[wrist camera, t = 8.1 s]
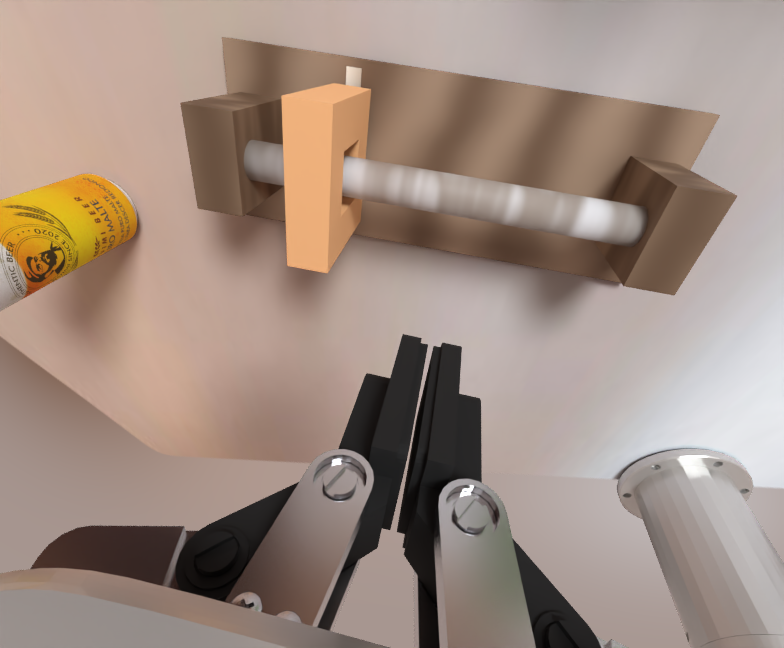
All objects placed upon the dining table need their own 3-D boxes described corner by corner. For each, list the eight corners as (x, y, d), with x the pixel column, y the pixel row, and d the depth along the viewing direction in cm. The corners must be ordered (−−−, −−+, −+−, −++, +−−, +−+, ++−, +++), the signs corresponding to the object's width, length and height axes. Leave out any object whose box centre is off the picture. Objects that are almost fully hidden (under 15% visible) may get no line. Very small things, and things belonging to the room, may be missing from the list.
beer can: (150, 243, 37) (-5, 338, 25) (89, 232, 37) (-94, 319, 25) (134, 178, 34) (-56, 250, 21) (67, 165, 34) (-158, 229, 22)
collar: (371, 89, 26) (332, 103, 18) (360, 220, 31) (327, 273, 24) (333, 83, 26) (281, 95, 19) (329, 215, 31) (287, 265, 24)
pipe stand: (713, 113, 25) (800, 135, 18) (624, 279, 32) (665, 337, 25) (228, 37, 27) (150, 33, 20) (244, 210, 34) (191, 248, 27)
